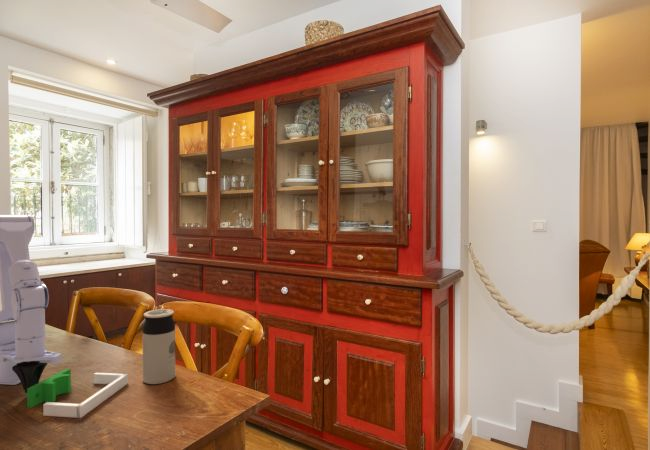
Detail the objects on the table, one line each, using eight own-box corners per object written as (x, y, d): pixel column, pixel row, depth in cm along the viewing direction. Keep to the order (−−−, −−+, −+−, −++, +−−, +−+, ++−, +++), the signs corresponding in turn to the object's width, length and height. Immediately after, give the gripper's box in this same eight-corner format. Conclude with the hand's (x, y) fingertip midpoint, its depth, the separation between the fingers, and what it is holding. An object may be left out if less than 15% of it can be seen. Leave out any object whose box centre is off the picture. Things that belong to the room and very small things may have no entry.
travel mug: (135, 383, 97) (135, 315, 97) (156, 370, 105) (156, 307, 105) (162, 386, 96) (162, 317, 95) (181, 374, 103) (181, 309, 103)
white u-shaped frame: (43, 415, 81) (43, 404, 81) (96, 381, 98) (96, 372, 98) (80, 417, 81) (80, 406, 81) (127, 383, 97) (127, 374, 97)
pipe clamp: (42, 409, 84) (41, 389, 84) (27, 408, 85) (26, 388, 85) (80, 386, 96) (79, 369, 95) (66, 385, 96) (66, 368, 96)
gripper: (-14, 340, 87) (-13, 397, 87) (44, 342, 86) (44, 400, 86) (14, 330, 94) (14, 384, 94) (68, 333, 93) (68, 386, 93)
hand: (30, 391), depth 91 cm, fingers closed
